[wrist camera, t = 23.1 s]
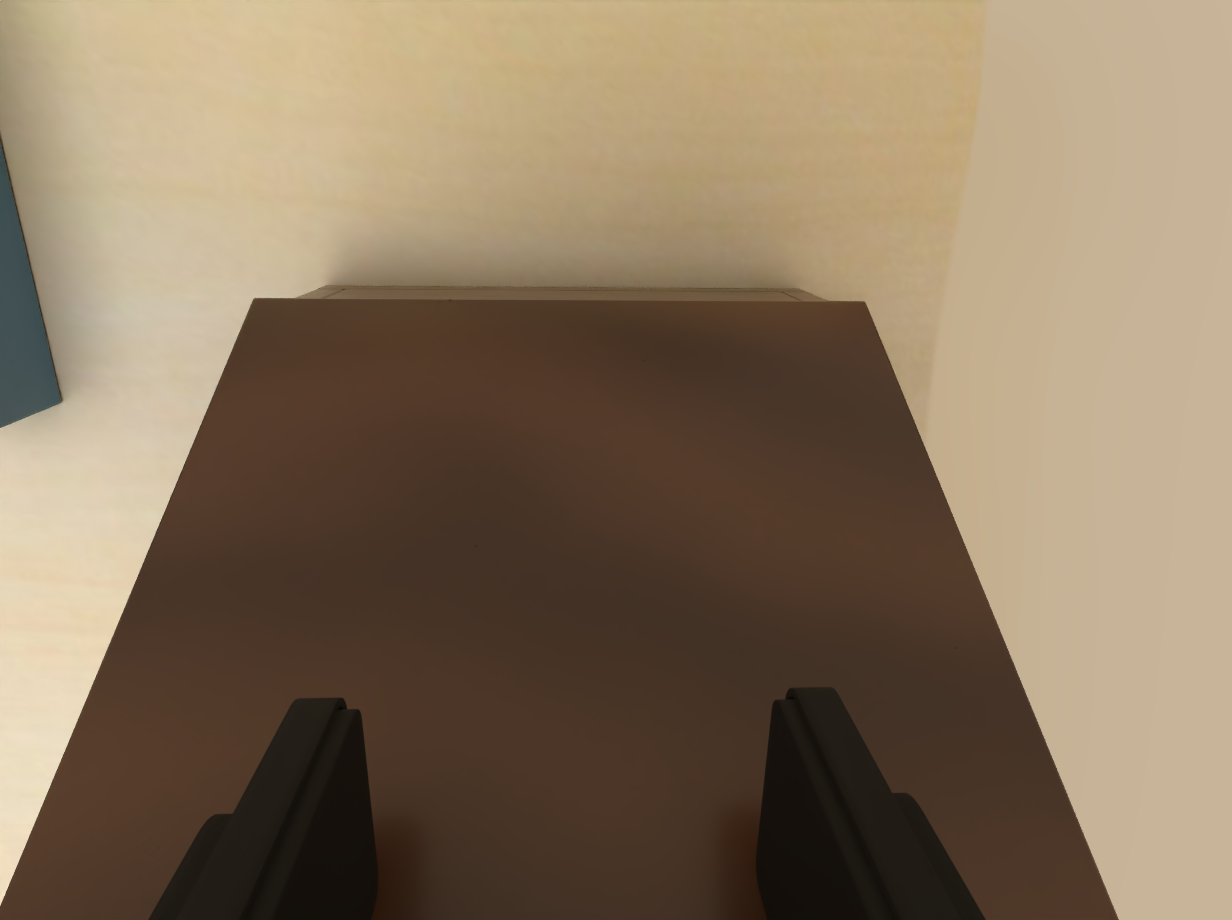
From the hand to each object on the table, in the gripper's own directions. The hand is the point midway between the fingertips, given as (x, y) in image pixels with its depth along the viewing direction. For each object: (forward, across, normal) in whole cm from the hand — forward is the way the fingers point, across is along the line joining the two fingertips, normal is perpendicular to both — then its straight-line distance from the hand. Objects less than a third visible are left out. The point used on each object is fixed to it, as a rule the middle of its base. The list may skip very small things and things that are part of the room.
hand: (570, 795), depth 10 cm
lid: (+4, 0, 0) cm, 4 cm away
